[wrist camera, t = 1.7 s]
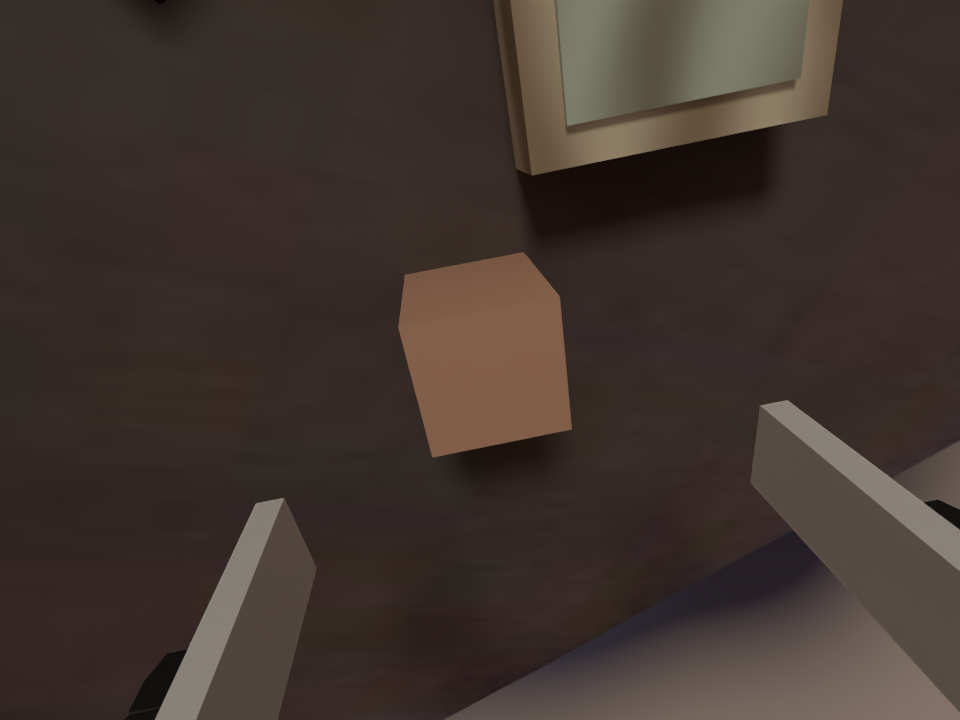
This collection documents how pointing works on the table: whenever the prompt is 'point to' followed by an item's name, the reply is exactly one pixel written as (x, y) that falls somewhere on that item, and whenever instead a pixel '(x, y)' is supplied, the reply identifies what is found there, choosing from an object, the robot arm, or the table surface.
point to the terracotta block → (485, 353)
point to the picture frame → (657, 72)
